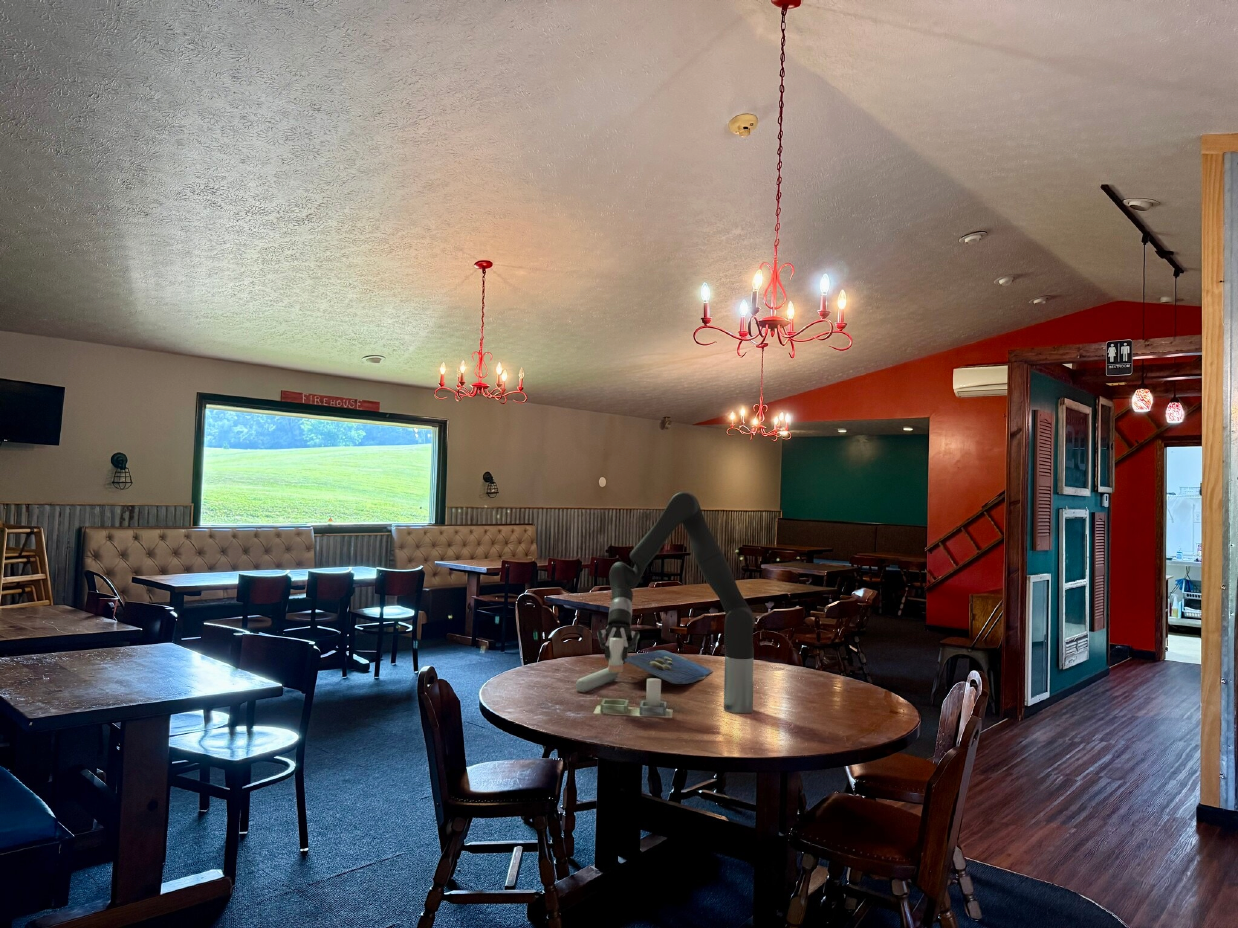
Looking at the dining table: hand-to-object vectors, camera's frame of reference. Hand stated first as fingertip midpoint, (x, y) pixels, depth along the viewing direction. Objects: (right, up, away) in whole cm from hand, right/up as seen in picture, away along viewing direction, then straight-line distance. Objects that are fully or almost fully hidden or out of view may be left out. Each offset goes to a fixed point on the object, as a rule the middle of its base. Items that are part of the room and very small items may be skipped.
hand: (615, 658), depth 251 cm
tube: (-7, -20, +41) cm, 46 cm away
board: (+6, -18, 0) cm, 19 cm away
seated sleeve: (+12, -17, 0) cm, 20 cm away
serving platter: (+18, -22, +60) cm, 66 cm away
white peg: (0, -4, +2) cm, 5 cm away
